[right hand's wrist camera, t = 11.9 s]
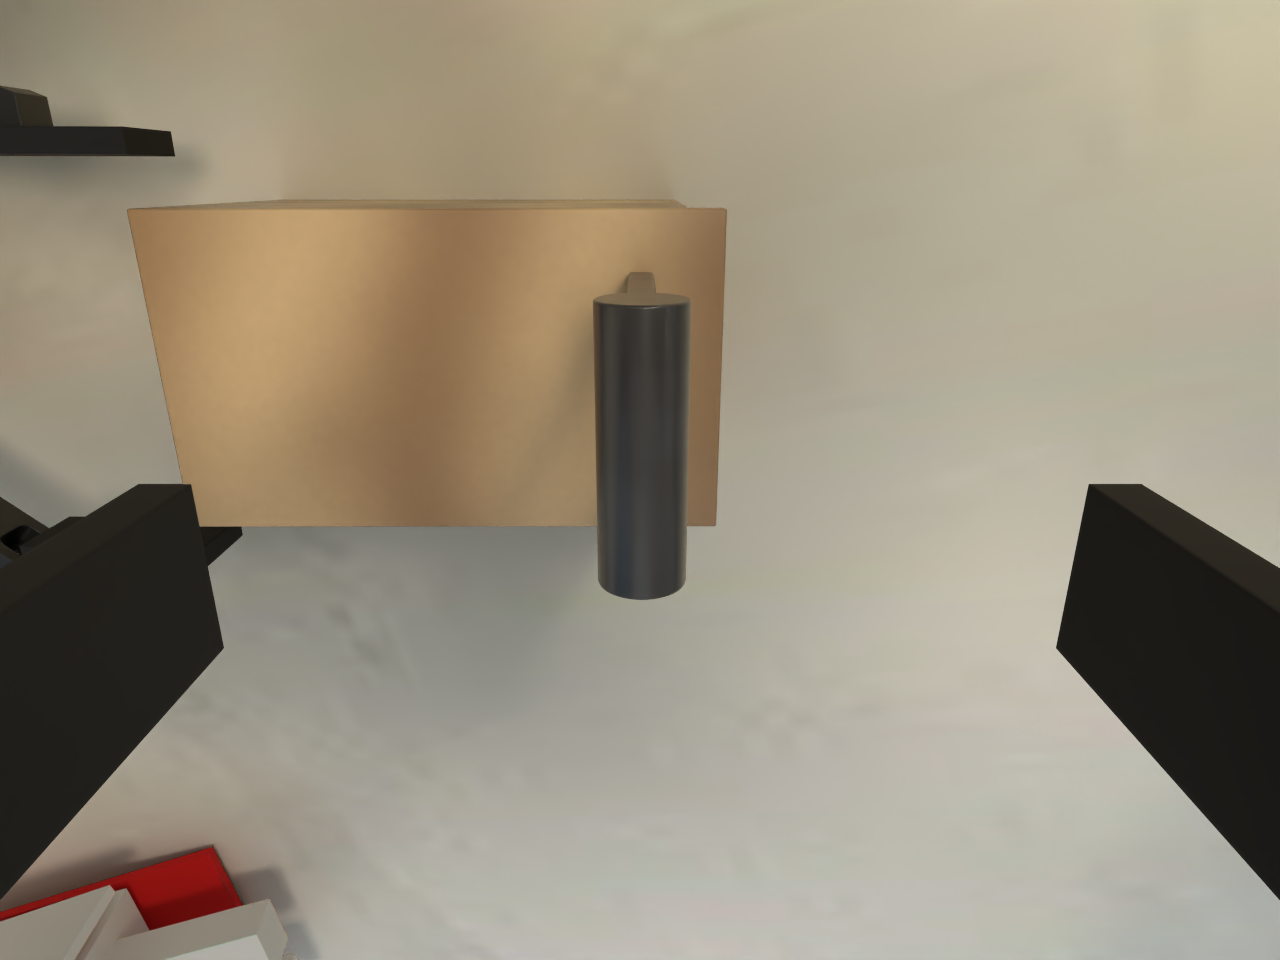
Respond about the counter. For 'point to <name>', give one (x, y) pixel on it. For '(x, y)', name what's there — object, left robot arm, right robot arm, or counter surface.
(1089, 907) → the counter surface
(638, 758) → the counter surface
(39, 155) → the left robot arm
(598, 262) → the lid
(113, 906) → the toy
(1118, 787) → the counter surface
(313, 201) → the chest
